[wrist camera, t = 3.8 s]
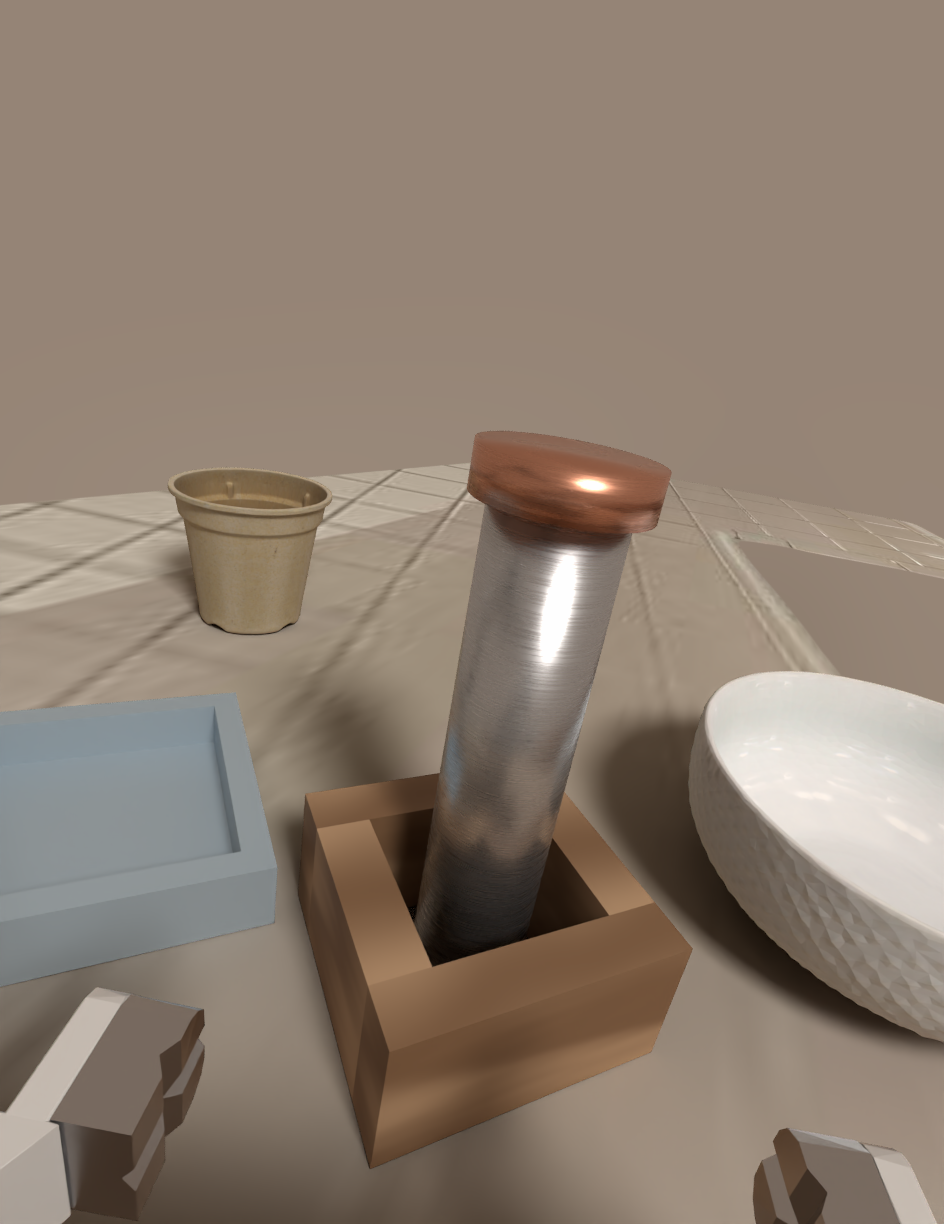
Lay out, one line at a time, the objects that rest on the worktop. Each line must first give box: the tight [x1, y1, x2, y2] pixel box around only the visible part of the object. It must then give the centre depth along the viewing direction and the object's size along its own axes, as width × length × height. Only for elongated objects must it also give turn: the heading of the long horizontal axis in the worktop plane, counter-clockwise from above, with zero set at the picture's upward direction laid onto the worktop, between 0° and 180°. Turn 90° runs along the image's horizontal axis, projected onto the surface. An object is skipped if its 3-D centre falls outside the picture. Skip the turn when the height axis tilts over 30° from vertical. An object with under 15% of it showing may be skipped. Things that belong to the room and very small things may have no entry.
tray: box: [0, 693, 277, 987], centre depth 24 cm, size 11×11×2 cm
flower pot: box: [168, 468, 332, 634], centre depth 42 cm, size 9×9×9 cm
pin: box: [414, 431, 671, 967], centre depth 19 cm, size 5×5×17 cm
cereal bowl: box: [688, 671, 944, 1043], centre depth 26 cm, size 17×17×7 cm
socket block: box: [298, 773, 693, 1169], centre depth 21 cm, size 9×9×4 cm
